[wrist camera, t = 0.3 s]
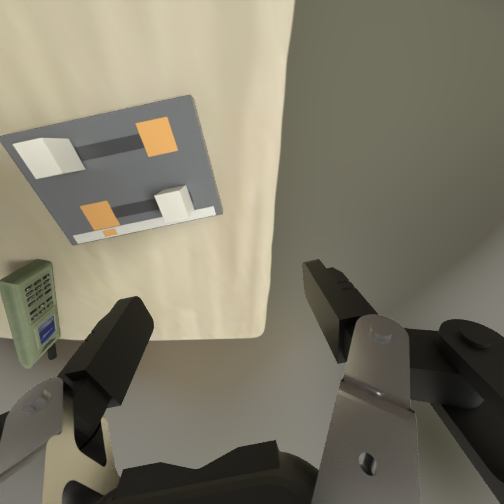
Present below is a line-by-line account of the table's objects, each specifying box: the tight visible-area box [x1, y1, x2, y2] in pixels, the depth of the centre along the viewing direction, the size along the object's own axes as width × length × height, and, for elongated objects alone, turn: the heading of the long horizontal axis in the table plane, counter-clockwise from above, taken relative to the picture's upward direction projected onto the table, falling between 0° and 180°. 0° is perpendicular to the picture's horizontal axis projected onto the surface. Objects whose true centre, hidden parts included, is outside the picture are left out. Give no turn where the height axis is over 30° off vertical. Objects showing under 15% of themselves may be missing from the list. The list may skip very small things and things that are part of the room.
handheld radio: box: [0, 259, 60, 369], centre depth 37 cm, size 7×3×25 cm
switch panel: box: [0, 95, 223, 245], centre depth 28 cm, size 15×24×2 cm, turn 101°
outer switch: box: [154, 185, 194, 223], centre depth 27 cm, size 4×3×4 cm
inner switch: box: [13, 138, 86, 179], centre depth 24 cm, size 4×3×4 cm
